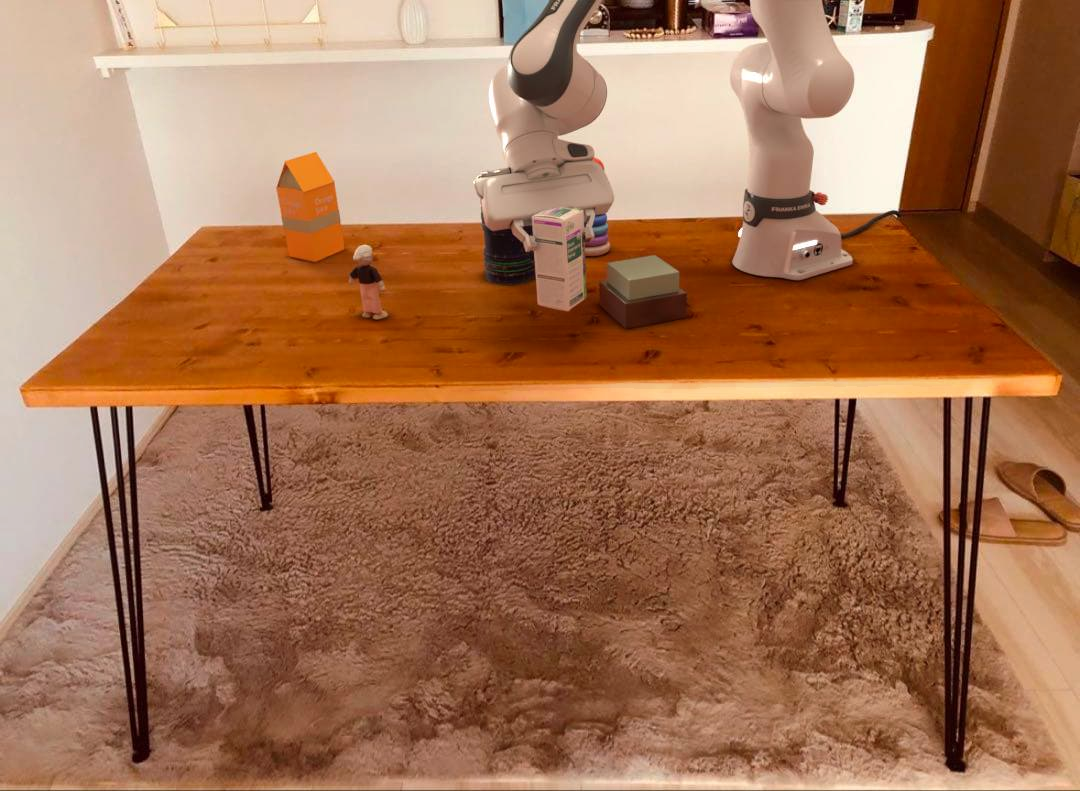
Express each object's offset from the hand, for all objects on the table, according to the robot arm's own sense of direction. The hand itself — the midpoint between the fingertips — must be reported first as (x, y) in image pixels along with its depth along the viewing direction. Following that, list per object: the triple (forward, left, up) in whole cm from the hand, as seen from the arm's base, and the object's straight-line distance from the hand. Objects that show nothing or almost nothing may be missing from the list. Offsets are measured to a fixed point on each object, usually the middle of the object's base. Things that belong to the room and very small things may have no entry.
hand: (561, 244), depth 126 cm
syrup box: (0, -1, -10) cm, 10 cm away
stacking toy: (-21, -39, -17) cm, 47 cm away
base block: (-17, -7, -16) cm, 24 cm away
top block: (-17, -7, -12) cm, 22 cm away
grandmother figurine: (+26, -25, -17) cm, 40 cm away
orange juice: (+31, -63, -17) cm, 72 cm away
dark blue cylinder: (-2, -33, -17) cm, 37 cm away
